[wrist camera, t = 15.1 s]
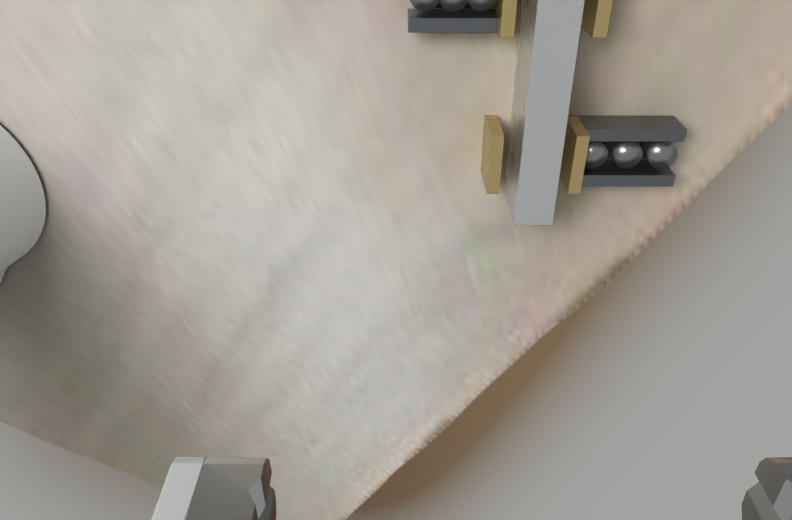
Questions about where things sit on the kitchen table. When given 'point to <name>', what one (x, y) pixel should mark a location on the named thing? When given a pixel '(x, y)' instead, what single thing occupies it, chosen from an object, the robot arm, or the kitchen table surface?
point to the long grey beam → (541, 107)
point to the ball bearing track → (583, 133)
